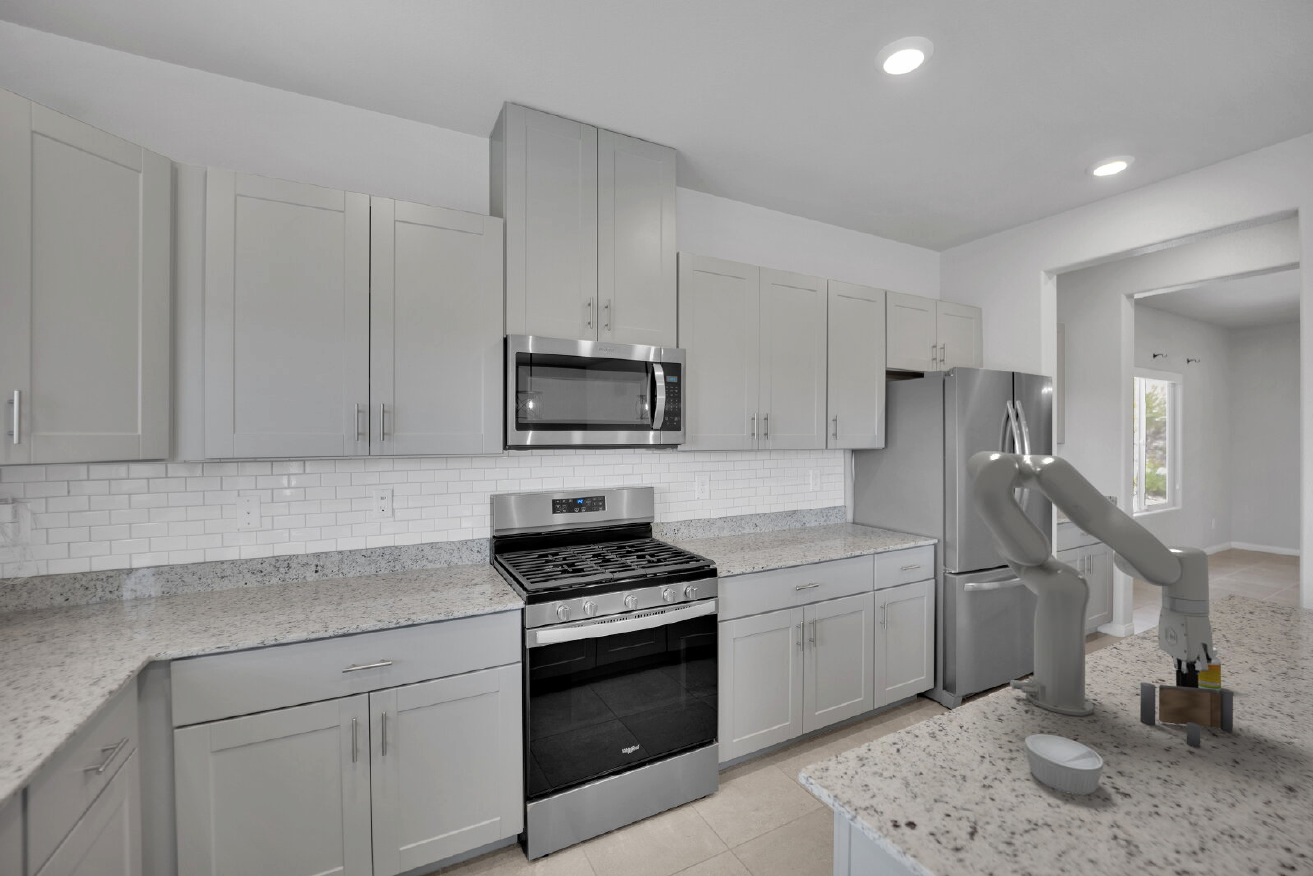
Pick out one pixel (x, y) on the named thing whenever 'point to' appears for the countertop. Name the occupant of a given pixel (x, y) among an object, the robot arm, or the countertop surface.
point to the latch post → (1226, 710)
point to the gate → (1190, 706)
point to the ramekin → (1063, 763)
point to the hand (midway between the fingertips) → (1187, 689)
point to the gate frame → (1149, 714)
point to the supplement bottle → (1211, 674)
